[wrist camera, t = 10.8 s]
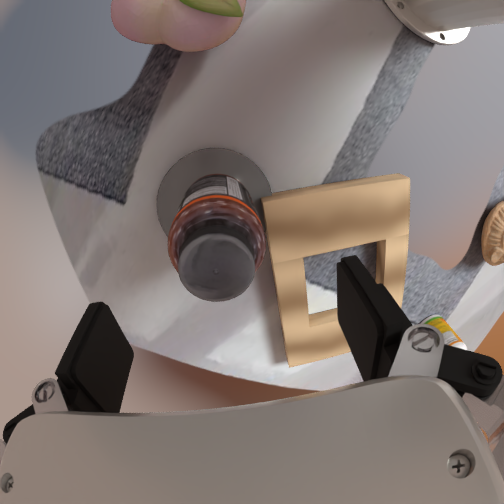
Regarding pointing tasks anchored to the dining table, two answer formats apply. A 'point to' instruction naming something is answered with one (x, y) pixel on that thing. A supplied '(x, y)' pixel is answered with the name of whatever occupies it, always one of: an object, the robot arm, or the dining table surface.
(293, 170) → the dining table surface
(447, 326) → the supplement bottle
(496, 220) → the pottery oil lamp
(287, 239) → the holder board
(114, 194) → the dining table surface
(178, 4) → the decorative fruit
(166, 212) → the slate coaster
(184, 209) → the supplement bottle
